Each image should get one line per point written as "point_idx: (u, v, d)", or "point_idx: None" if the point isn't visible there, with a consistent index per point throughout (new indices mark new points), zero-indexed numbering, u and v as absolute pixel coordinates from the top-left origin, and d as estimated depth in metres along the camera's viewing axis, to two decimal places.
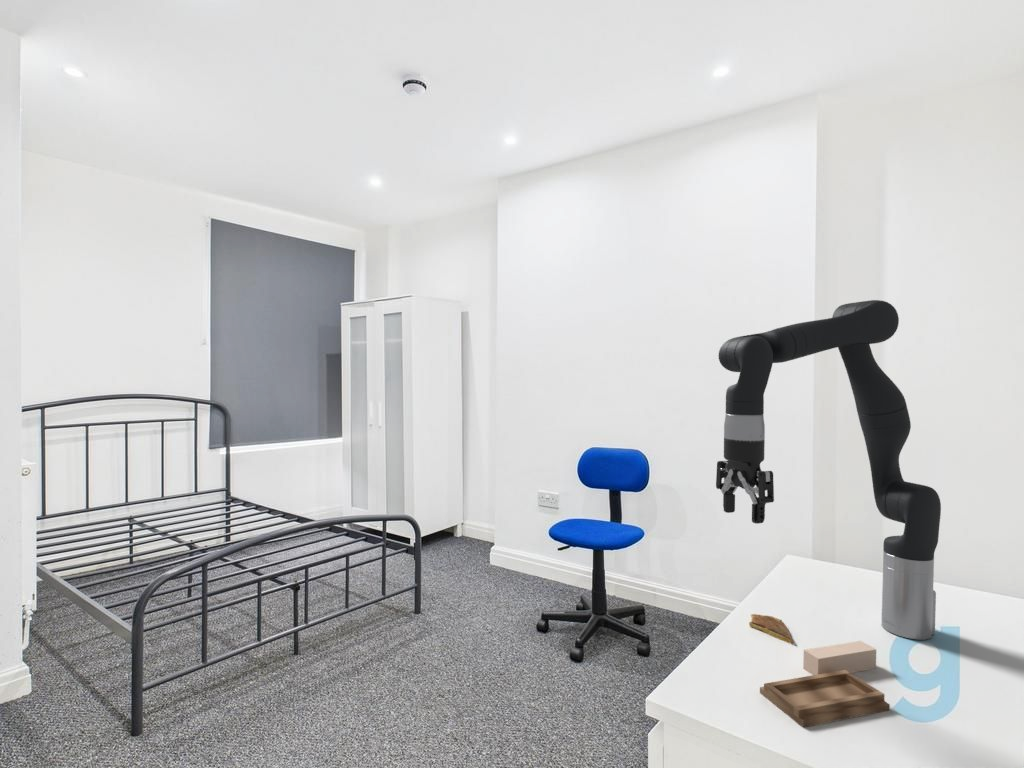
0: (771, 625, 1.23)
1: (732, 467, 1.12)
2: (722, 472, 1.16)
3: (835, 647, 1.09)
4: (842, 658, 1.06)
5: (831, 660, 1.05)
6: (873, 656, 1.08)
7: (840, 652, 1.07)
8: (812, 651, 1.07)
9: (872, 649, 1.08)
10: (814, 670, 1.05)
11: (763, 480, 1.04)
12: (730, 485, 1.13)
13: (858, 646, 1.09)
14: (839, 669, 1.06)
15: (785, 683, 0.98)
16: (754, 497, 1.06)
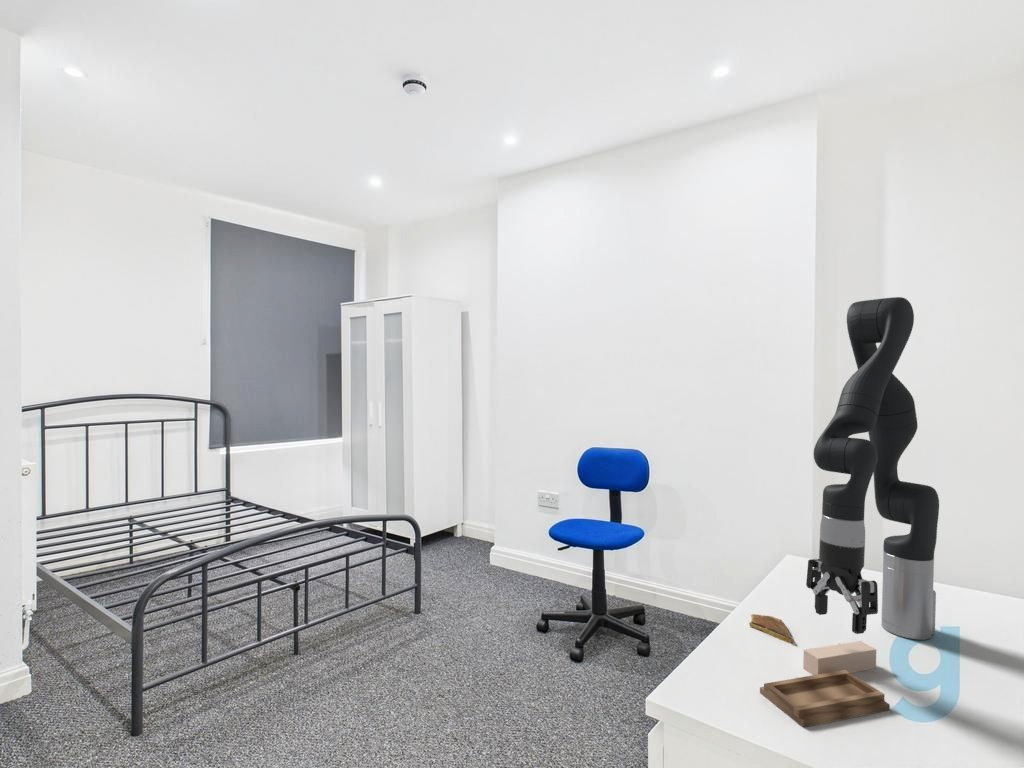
0: (771, 625, 1.23)
1: (827, 569, 1.09)
2: (814, 571, 1.13)
3: (835, 647, 1.09)
4: (842, 658, 1.06)
5: (831, 660, 1.05)
6: (873, 656, 1.08)
7: (840, 652, 1.07)
8: (812, 651, 1.07)
9: (872, 649, 1.08)
10: (814, 670, 1.05)
11: (867, 591, 1.00)
12: (824, 587, 1.10)
13: (858, 646, 1.09)
14: (839, 669, 1.06)
15: (785, 683, 0.98)
16: (856, 607, 1.03)
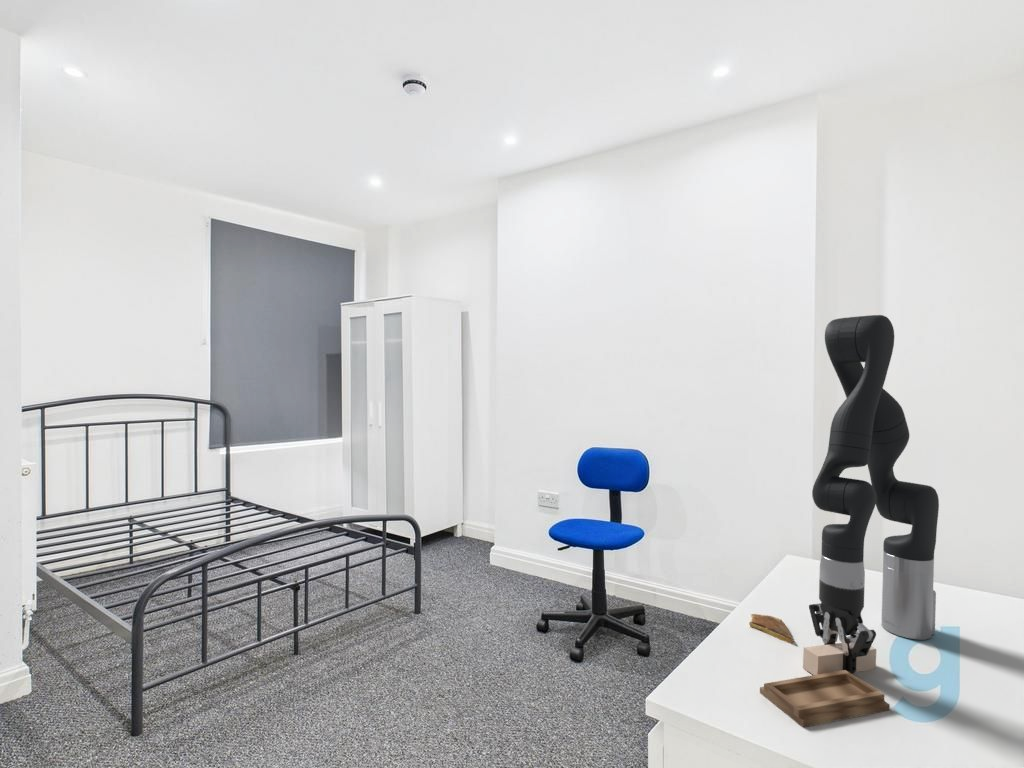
0: (771, 625, 1.23)
1: (826, 610, 1.09)
2: (817, 616, 1.12)
3: (835, 645, 1.09)
4: (842, 656, 1.06)
5: (831, 658, 1.05)
6: (873, 655, 1.08)
7: (840, 650, 1.07)
8: (812, 649, 1.07)
9: (872, 649, 1.08)
10: (814, 668, 1.05)
11: (864, 641, 1.01)
12: (830, 631, 1.09)
13: None
14: (839, 667, 1.05)
15: (785, 683, 0.98)
16: (847, 649, 1.05)
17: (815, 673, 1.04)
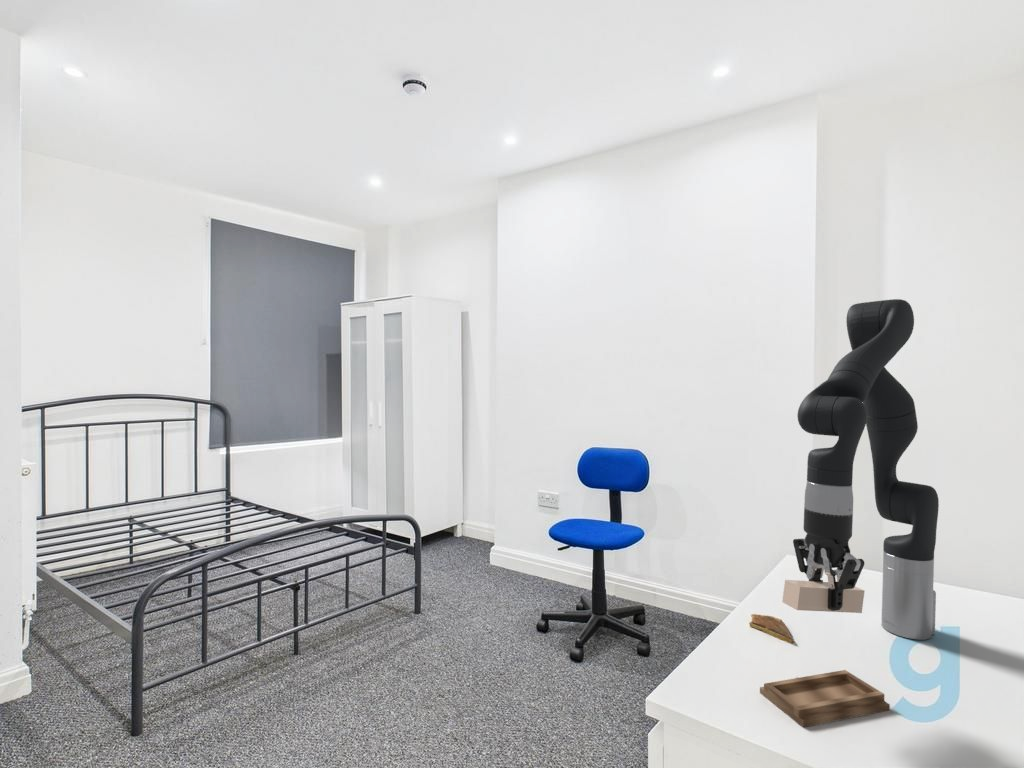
0: (771, 625, 1.23)
1: (811, 543, 1.00)
2: (802, 551, 1.03)
3: (820, 583, 0.99)
4: (827, 592, 0.96)
5: (814, 591, 0.96)
6: (860, 597, 0.98)
7: (824, 586, 0.97)
8: (794, 582, 0.97)
9: (860, 590, 0.98)
10: (794, 600, 0.96)
11: (851, 570, 0.92)
12: (815, 565, 1.00)
13: None
14: (822, 603, 0.96)
15: (785, 683, 0.98)
16: (833, 582, 0.95)
17: (795, 606, 0.95)
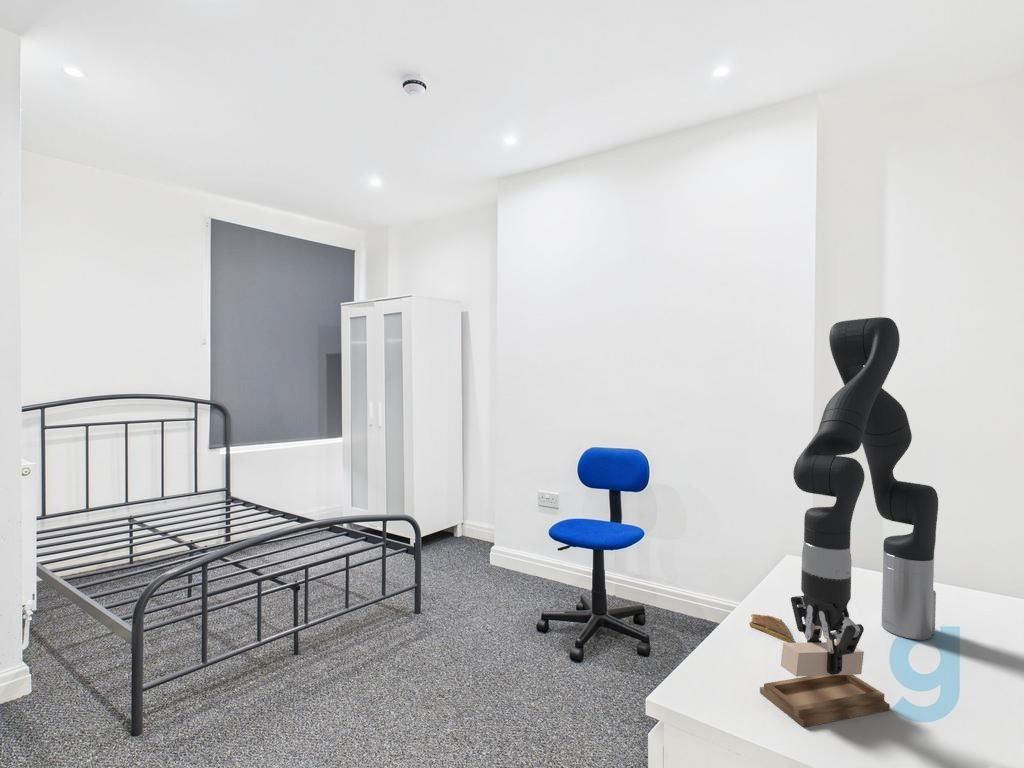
0: (771, 625, 1.23)
1: (809, 603, 0.98)
2: (800, 610, 1.01)
3: (818, 644, 0.98)
4: (825, 656, 0.95)
5: (813, 656, 0.94)
6: (859, 658, 0.97)
7: (823, 649, 0.96)
8: (792, 645, 0.96)
9: (859, 651, 0.97)
10: (793, 666, 0.94)
11: (850, 637, 0.90)
12: (814, 627, 0.98)
13: None
14: (821, 668, 0.94)
15: (785, 683, 0.98)
16: (832, 646, 0.94)
17: (794, 671, 0.93)
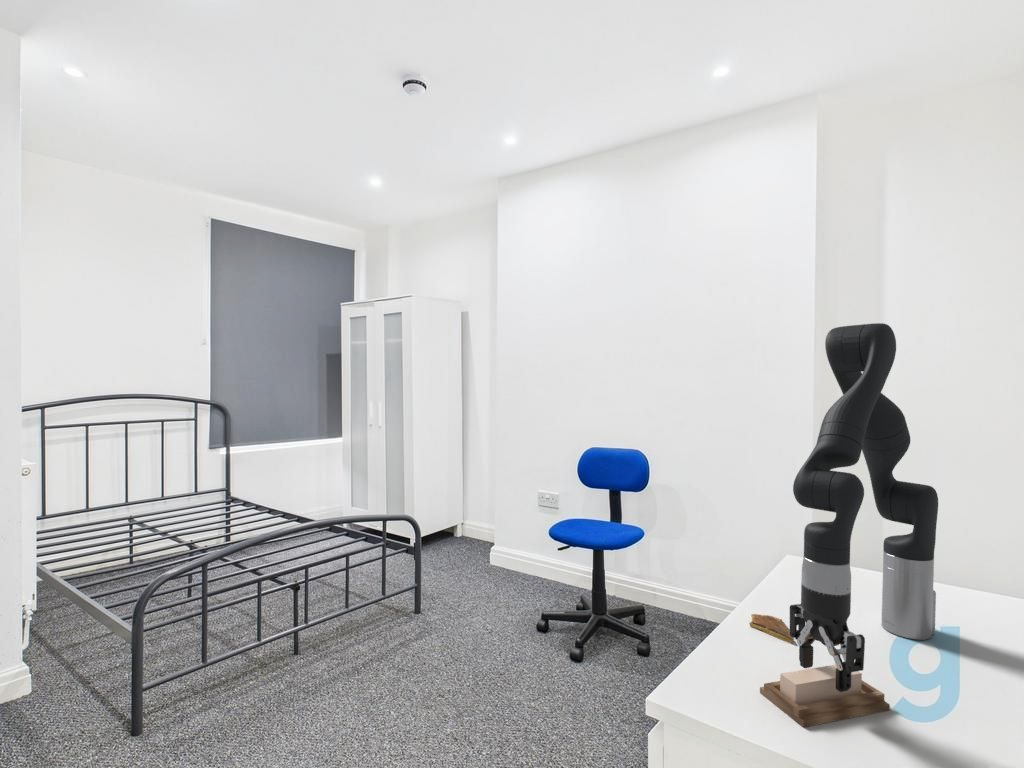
0: (771, 625, 1.23)
1: (810, 617, 0.98)
2: (797, 618, 1.02)
3: (816, 670, 0.98)
4: (823, 683, 0.95)
5: (810, 685, 0.94)
6: (858, 680, 0.97)
7: (821, 676, 0.96)
8: (790, 676, 0.96)
9: (857, 673, 0.97)
10: (791, 697, 0.94)
11: (853, 647, 0.90)
12: (808, 637, 0.99)
13: None
14: (819, 696, 0.94)
15: None
16: (839, 662, 0.92)
17: None
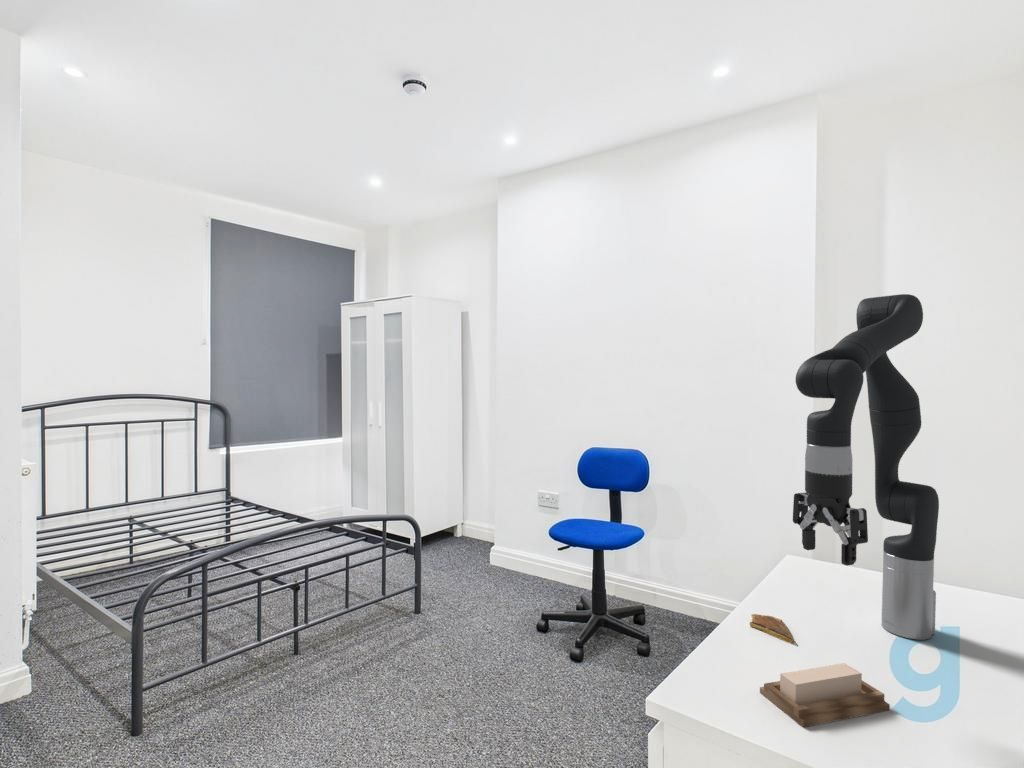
0: (772, 625, 1.23)
1: (814, 501, 1.03)
2: (800, 505, 1.07)
3: (816, 670, 0.98)
4: (823, 683, 0.95)
5: (810, 685, 0.94)
6: (858, 680, 0.97)
7: (821, 676, 0.96)
8: (790, 676, 0.96)
9: (857, 673, 0.97)
10: (791, 697, 0.94)
11: (856, 519, 0.94)
12: (811, 521, 1.04)
13: (842, 669, 0.98)
14: (819, 696, 0.94)
15: None
16: (845, 537, 0.97)
17: None
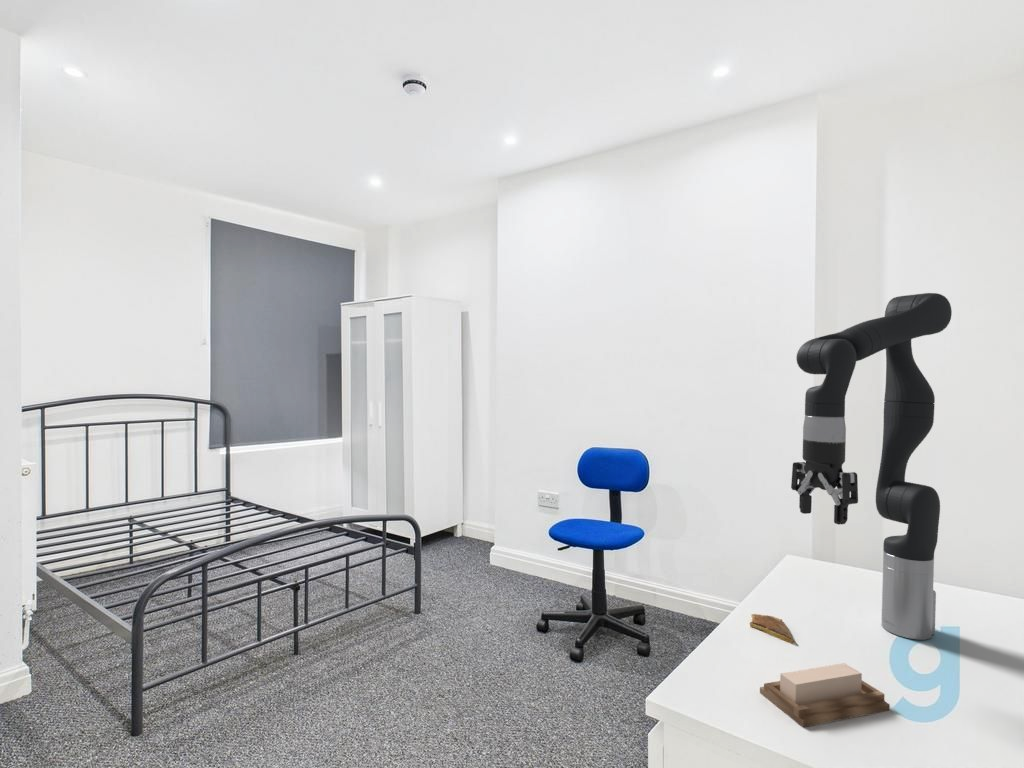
0: (771, 625, 1.23)
1: (811, 468, 1.13)
2: (798, 473, 1.17)
3: (816, 670, 0.98)
4: (823, 683, 0.95)
5: (810, 685, 0.94)
6: (858, 680, 0.97)
7: (821, 676, 0.96)
8: (790, 676, 0.96)
9: (857, 673, 0.97)
10: (791, 697, 0.94)
11: (848, 481, 1.05)
12: (808, 486, 1.14)
13: (842, 669, 0.98)
14: (819, 696, 0.94)
15: None
16: (837, 498, 1.07)
17: None
